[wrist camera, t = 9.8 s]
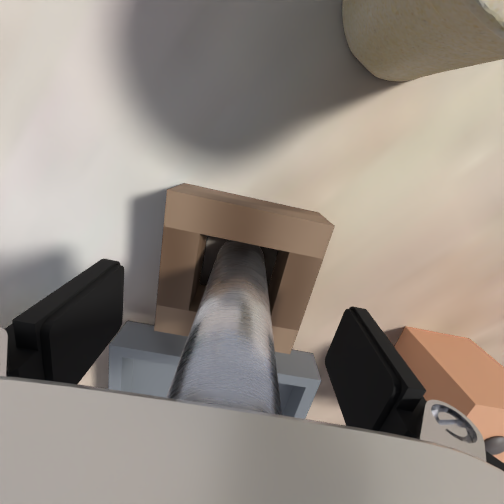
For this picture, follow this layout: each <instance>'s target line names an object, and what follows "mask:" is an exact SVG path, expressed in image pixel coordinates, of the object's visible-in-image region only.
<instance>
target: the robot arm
mask: <svg viewBox="0 0 504 504" xmlns="http://www.w3.org/2000/svg"><path fill="white" fill-rule="evenodd" d="M123 287H124V267H123V266H120V263H119V262H118V261H113V260H108V259H101V260H100V261H98V262H97V263H96V264H94V265H93V266H91V267H90V268H88V269H87V270H85V271H84V272H82V273H81V274H79V275H78V276H76V277H75V278H73V279H72V280H71V281H69V282H68V283H66V284H65V285H63V286H62V287H60V288H59V289H57V290H56V291H54V292H53V293H51V294H50V295H48V296H47V297H46V298H44V299H43V300H41V301H40V302H38V303H37V304H35V305H34V306H32V307H31V308H29V309H28V310H26V311H25V312H23V313H22V314H21V315H19V316H18V317H16V318H15V319H13V320H12V322H13V324H11V325H10V326H8V327H7V328H6V329H3V328H1V327H0V504H504V463H503V462H501V461H500V460H498V459H497V458H496V457H494V456H493V455H491V454H490V453H488V452H487V451H486V450H485V443H484V440H483V436H482V434H481V433H480V431H479V430H478V428H477V427H476V426H475V425H474V424H473V422H472V421H471V420H470V419H469V418H467V417H466V416H465V415H464V414H463V413H462V412H460V411H459V410H457V409H456V408H454V407H453V406H451V405H449V404H447V403H445V402H442V401H439V400H429V401H426V400H425V398H424V397H423V395H424V394H425V392H426V389H425V388H424V386H423V385H422V384H421V382H420V381H419V380H418V378H417V377H416V376H415V374H414V373H413V372H412V370H411V369H410V368H409V366H408V365H407V364H406V362H405V361H404V360H403V358H402V357H401V356H400V354H399V353H398V351H397V350H396V349H395V347H394V346H393V345H392V343H391V342H390V341H389V339H388V338H387V337H386V335H385V334H384V333H383V331H382V330H381V329H380V327H379V326H378V325H377V323H376V322H375V321H374V319H373V318H372V317H371V315H370V314H369V312H368V311H367V310H366V309H362V308H357V307H350V308H349V309H346V310H345V312H344V314H343V316H342V319H341V321H340V324H339V326H338V329H337V331H336V333H335V336H334V338H333V341H332V343H331V345H330V348H329V350H328V353H327V355H326V358H325V365H326V368H327V371H328V374H329V377H330V380H331V383H332V386H333V389H334V391H335V394H336V397H337V400H338V403H339V406H340V409H341V411H342V414H343V417H344V420H345V423H346V426H345V425H339V424H332V423H326V422H320V421H314V420H308V419H301V418H295V417H289V416H283V415H277V414H270V413H264V412H257V411H251V410H245V409H238V408H232V407H225V406H219V405H212V404H206V403H199V402H193V401H186V400H180V399H173V398H166V397H160V396H153V395H146V394H139V393H133V392H126V391H119V390H112V389H106V388H99V387H92V386H85V385H77V384H78V383H79V381H80V380H81V379H82V378H83V376H84V375H85V374H86V372H87V371H88V370H89V368H90V367H91V366H92V365H93V363H94V362H95V361H96V359H97V358H98V357H99V355H100V354H101V353H102V352H103V350H104V349H105V348H106V346H107V345H108V344H109V342H110V341H111V340H112V339H113V337H114V336H115V335H116V333H117V332H118V331H119V329H120V327H121V325H122V315H123Z"/></svg>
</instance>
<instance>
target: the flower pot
mask: <svg viewBox="0 0 504 504" xmlns="http://www.w3.org/2000/svg"><path fill="white" fill-rule="evenodd" d="M342 18H343V27H344V32H345V36H346V40H347V43H348V46H349V48H350V50H351V52H352V54H353V55H354V56H355V57H356V58H357V59H358V60H359V61H360V62H361V63H362V64H363V65H364V66H365V67H366V69H367V70H368V71H369V72H371V73H372V74H373V75H374V76H376V77H378V78H381V79H384V80H389V81H409V80H414V79H417V78H420V77H424V76H428V75H432V74H436V73H440V72H444V71H449V70H453V69H458V68H463V67H468V66H472V65H477V64H482V63H486V62H491V61H496V60H501V59H504V0H343V3H342Z"/></svg>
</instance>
